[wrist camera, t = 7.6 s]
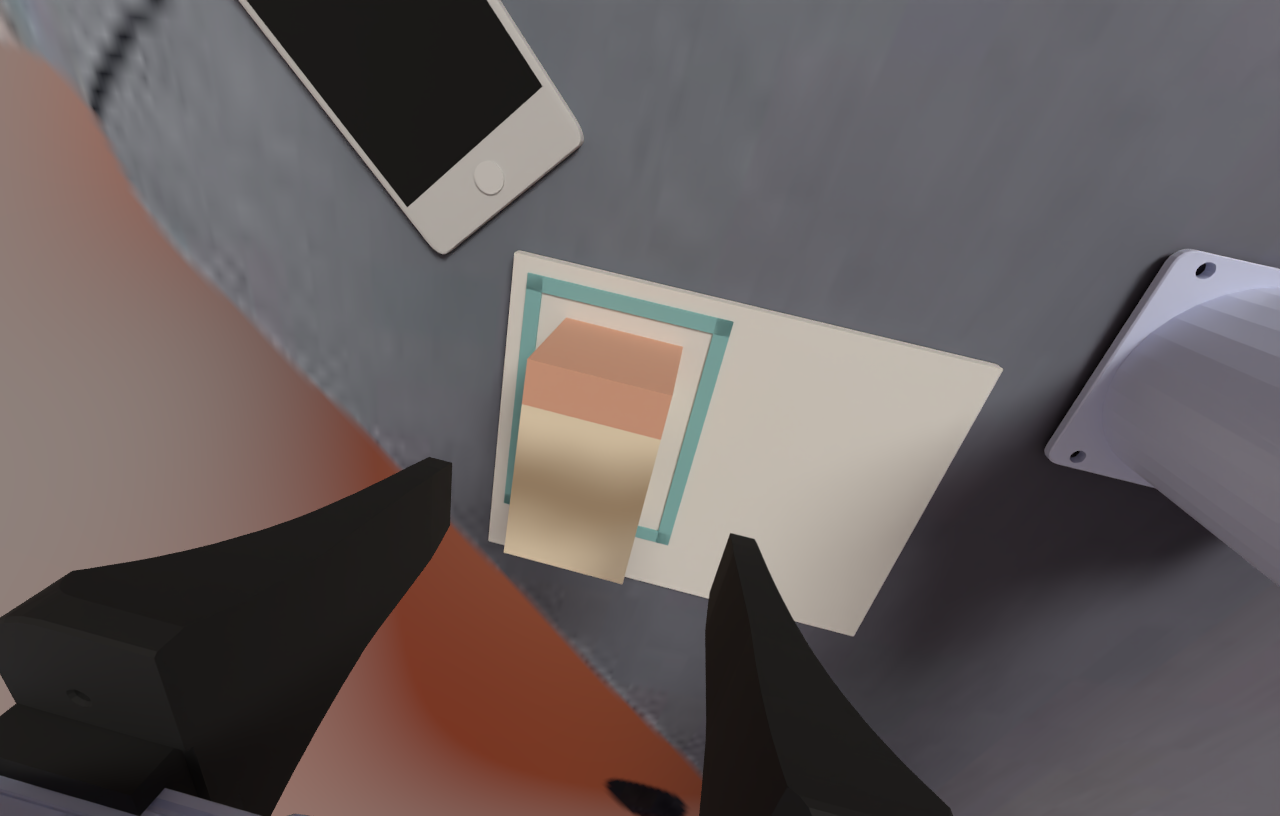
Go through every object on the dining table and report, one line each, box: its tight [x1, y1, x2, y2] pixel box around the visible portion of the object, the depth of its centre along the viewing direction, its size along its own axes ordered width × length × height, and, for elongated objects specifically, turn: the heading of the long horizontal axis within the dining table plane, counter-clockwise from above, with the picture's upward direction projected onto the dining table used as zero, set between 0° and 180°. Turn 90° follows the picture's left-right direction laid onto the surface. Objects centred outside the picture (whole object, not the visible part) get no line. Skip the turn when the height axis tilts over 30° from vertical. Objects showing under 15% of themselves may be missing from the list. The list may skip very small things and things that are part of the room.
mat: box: [488, 250, 1003, 637], centre depth 23 cm, size 18×14×1 cm
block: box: [504, 317, 683, 584], centre depth 20 cm, size 8×5×4 cm, turn 168°
